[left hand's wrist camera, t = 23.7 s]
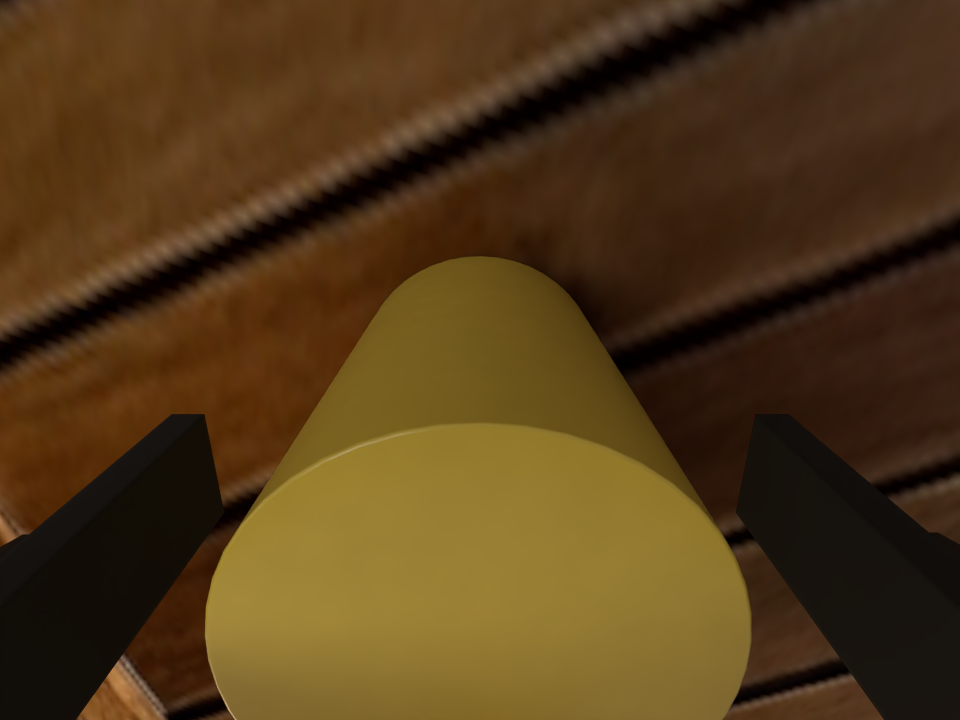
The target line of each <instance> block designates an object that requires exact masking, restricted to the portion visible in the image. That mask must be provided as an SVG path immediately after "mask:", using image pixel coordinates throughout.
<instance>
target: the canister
mask: <svg viewBox="0 0 960 720" xmlns="http://www.w3.org/2000/svg"><path fill="white" fill-rule="evenodd" d="M205 638H206V646H207V653H208V661H209V664H210V667H211V670H212V674H213V677H214V680H215V683H216V686H217V688H218V690H219V692H220V694H221V696H222V698H223V700H224V702H225V704H226V706H227V708H228V710H229V712H230V713H231V715H232V716H233V718H234V719H235V720H723V719H724V717H725V716H726V714H727V712H728V710H729V709H730V707H731V705H732V703H733V701H734V699H735V697H736V696H737V694H738V692H739V689H740V686H741V683H742V680H743V677H744V675H745V672H746V669H747V665H748V659H749V653H750V647H751V642H752V633H751V607H750V602H749V597H748V591H747V586H746V582H745V580H744V577H743V574H742V572H741V569H740V567H739V564H738V561H737V559H736V556H735V555H734V553H733V551H732V550H731V548H730V546H729V544H728V543H727V541H726V539H725V538H724V536H723V534H722V533H721V531H720V529H719V528H718V526H717V525H716V523H715V521H714V520H713V518H712V517H711V515H710V514H709V512H708V510H707V509H706V507H705V506H704V504H703V503H702V501H701V499H700V498H699V496H698V495H697V493H696V491H695V490H694V488H693V487H692V485H691V484H690V482H689V480H688V479H687V477H686V476H685V474H684V472H683V471H682V469H681V468H680V466H679V465H678V463H677V461H676V460H675V458H674V457H673V455H672V454H671V452H670V450H669V449H668V447H667V446H666V444H665V442H664V441H663V439H662V438H661V436H660V435H659V433H658V431H657V430H656V428H655V427H654V425H653V423H652V422H651V420H650V419H649V417H648V416H647V414H646V412H645V411H644V409H643V408H642V406H641V405H640V403H639V401H638V400H637V398H636V397H635V395H634V393H633V392H632V390H631V389H630V387H629V386H628V384H627V382H626V381H625V379H624V378H623V376H622V375H621V373H620V371H619V370H618V368H617V367H616V365H615V363H614V362H613V360H612V359H611V357H610V356H609V354H608V352H607V351H606V349H605V348H604V346H603V344H602V343H601V341H600V340H599V338H598V337H597V335H596V333H595V332H594V330H593V329H592V327H591V326H590V324H589V322H588V321H587V319H586V318H585V316H584V314H583V313H582V311H581V310H580V308H579V307H578V305H577V304H576V303H575V301H574V300H573V299H572V298H571V297H570V295H569V294H568V293H567V292H566V291H565V290H564V289H563V288H562V287H560V286H559V285H558V284H557V283H556V282H555V281H553V280H552V279H550V278H549V277H547V276H546V275H545V274H543V273H541V272H539V271H537V270H535V269H533V268H531V267H529V266H527V265H524V264H521V263H518V262H515V261H512V260H507V259H502V258H497V257H485V256H476V257H463V258H457V259H452V260H447V261H444V262H441V263H438V264H435V265H432V266H430V267H428V268H426V269H424V270H422V271H420V272H418V273H416V274H415V275H413V276H412V277H410V278H409V279H407V280H406V281H405V282H403V283H402V284H401V285H400V286H399V287H398V288H397V289H395V290H394V291H393V292H392V293H391V295H390V296H389V297H388V298H387V299H386V300H385V302H384V303H383V304H382V306H381V307H380V309H379V310H378V312H377V313H376V315H375V317H374V318H373V320H372V321H371V323H370V324H369V326H368V327H367V329H366V331H365V332H364V334H363V335H362V337H361V338H360V340H359V341H358V343H357V344H356V346H355V348H354V349H353V351H352V352H351V354H350V355H349V357H348V358H347V360H346V362H345V363H344V365H343V366H342V368H341V369H340V371H339V372H338V374H337V376H336V377H335V379H334V380H333V382H332V383H331V385H330V386H329V388H328V390H327V391H326V393H325V394H324V396H323V397H322V399H321V400H320V402H319V403H318V405H317V407H316V408H315V410H314V411H313V413H312V414H311V416H310V417H309V419H308V421H307V422H306V424H305V425H304V427H303V428H302V430H301V431H300V433H299V435H298V436H297V438H296V439H295V441H294V442H293V444H292V445H291V447H290V449H289V450H288V452H287V453H286V455H285V456H284V458H283V459H282V461H281V463H280V464H279V466H278V467H277V469H276V470H275V472H274V473H273V475H272V476H271V478H270V480H269V481H268V483H267V484H266V486H265V487H264V489H263V490H262V492H261V494H260V495H259V497H258V498H257V500H256V501H255V503H254V504H253V506H252V508H251V509H250V511H249V512H248V514H247V515H246V517H245V518H244V520H243V522H242V523H241V525H240V526H239V528H238V529H237V531H236V532H235V534H234V535H233V537H232V539H231V540H230V542H229V543H228V545H227V546H226V548H225V549H224V552H223V554H222V556H221V559H220V561H219V563H218V566H217V568H216V570H215V573H214V575H213V578H212V582H211V586H210V591H209V595H208V600H207V604H206V623H205Z"/></svg>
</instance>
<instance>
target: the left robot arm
mask: <svg viewBox="0 0 960 720" xmlns="http://www.w3.org/2000/svg"><path fill="white" fill-rule="evenodd" d="M223 513H224V509H223V504H222V499H221V494H220V489H219V484H218V479H217V474H216V470H215V465H214V460H213V455H212V450H211V445H210V440H209V435H208V430H207V425H206V420H205V415H204V414H172V415H170V416H169V417H168V418H167V419H166V420H164V421H163V422H162V423H161V424H160V425H158V426H157V427H156V428H155V429H154V430H153V431H151V432H150V433H149V434H148V435H147V436H145V437H144V438H143V439H142V440H141V441H139V442H138V443H137V444H136V445H135V446H134V447H132V448H131V449H130V450H129V451H128V452H126V453H125V454H124V455H123V456H122V457H120V458H119V459H118V460H117V461H116V462H115V463H113V464H112V465H111V466H110V467H109V468H107V469H106V470H105V471H104V472H103V473H101V474H100V475H99V476H98V477H97V478H96V479H94V480H93V481H92V482H91V483H90V484H88V485H87V486H86V487H85V488H84V489H82V490H81V491H80V492H79V493H78V494H77V495H75V496H74V497H73V498H72V499H71V500H69V501H68V502H67V503H66V504H65V505H64V506H62V507H61V508H60V509H59V510H58V511H56V512H55V513H54V514H53V515H52V516H50V517H49V518H48V519H47V520H46V521H45V522H43V523H42V524H41V525H40V526H39V527H37V528H36V529H35V530H34V531H33V532H31V533H30V534H29V535H21V536H19V537H18V538H16V539H14V540H12V541H10V542H9V543H7V544H5V545H3V546H1V547H0V720H76V719H77V717H78V716H79V715H80V713H81V712H82V710H83V709H84V708H85V706H86V705H87V703H88V702H89V701H90V699H91V698H92V696H93V695H94V694H95V692H96V691H97V689H98V688H99V687H100V685H101V684H102V682H103V681H104V680H105V678H106V677H107V675H108V674H109V673H110V671H111V670H112V668H113V667H114V666H115V664H116V663H117V661H118V660H119V659H120V657H121V656H122V654H123V653H124V652H125V650H126V649H127V648H128V646H129V645H130V643H131V642H132V641H133V639H134V638H135V636H136V635H137V634H138V632H139V631H140V629H141V628H142V627H143V625H144V624H145V622H146V621H147V620H148V618H149V617H150V615H151V614H152V613H153V611H154V610H155V608H156V607H157V606H158V604H159V603H160V601H161V600H162V599H163V597H164V596H165V594H166V593H167V592H168V590H169V589H170V587H171V586H172V585H173V583H174V582H175V580H176V579H177V578H178V576H179V575H180V573H181V572H182V571H183V569H184V568H185V566H186V565H187V564H188V562H189V561H190V559H191V558H192V557H193V555H194V554H195V552H196V551H197V550H198V548H199V547H200V545H201V544H202V543H203V541H204V540H205V538H206V537H207V536H208V534H209V533H210V531H211V530H212V529H213V527H214V526H215V524H216V523H217V522H218V520H219V519H220V517H221V516H222V515H223ZM736 513H737V515H738V516H739V517H740V519H741V520H742V522H743V523H744V524H745V526H746V527H747V529H748V530H749V531H750V533H751V534H752V536H753V537H754V538H755V540H756V541H757V543H758V544H759V545H760V547H761V548H762V550H763V551H764V552H765V554H766V555H767V557H768V558H769V559H770V561H771V562H772V564H773V565H774V566H775V568H776V569H777V571H778V572H779V573H780V575H781V576H782V578H783V579H784V580H785V582H786V583H787V585H788V586H789V587H790V589H791V590H792V592H793V593H794V594H795V596H796V597H797V599H798V600H799V601H800V603H801V604H802V606H803V607H804V608H805V610H806V611H807V613H808V614H809V615H810V617H811V618H812V620H813V621H814V622H815V624H816V625H817V626H818V628H819V629H820V631H821V632H822V633H823V635H824V636H825V638H826V639H827V640H828V642H829V643H830V645H831V646H832V647H833V649H834V650H835V652H836V653H837V654H838V656H839V657H840V659H841V660H842V661H843V663H844V664H845V666H846V667H847V668H848V670H849V671H850V673H851V674H852V675H853V677H854V678H855V680H856V681H857V682H858V684H859V685H860V687H861V688H862V689H863V691H864V692H865V694H866V695H867V696H868V698H869V699H870V701H871V702H872V703H873V705H874V706H875V708H876V709H877V710H878V712H879V713H880V715H881V716H882V717H883V719H884V720H960V545H959V544H957V543H956V542H954V541H952V540H950V539H948V538H947V537H945V536H943V535H941V534H939V533H929V532H927V531H926V530H925V529H924V528H923V527H921V526H920V525H919V524H918V523H917V522H916V521H914V520H913V519H912V518H911V517H910V516H908V515H907V514H906V513H905V512H904V511H902V510H901V509H900V508H899V507H898V506H897V505H895V504H894V503H893V502H892V501H891V500H889V499H888V498H887V497H886V496H885V495H883V494H882V493H881V492H880V491H879V490H878V489H876V488H875V487H874V486H873V485H872V484H870V483H869V482H868V481H867V480H866V479H864V478H863V477H862V476H861V475H860V474H859V473H857V472H856V471H855V470H854V469H853V468H851V467H850V466H849V465H848V464H847V463H845V462H844V461H843V460H842V459H841V458H840V457H838V456H837V455H836V454H835V453H834V452H832V451H831V450H830V449H829V448H828V447H827V446H825V445H824V444H823V443H822V442H821V441H819V440H818V439H817V438H816V437H815V436H813V435H812V434H811V433H810V432H809V431H808V430H806V429H805V428H804V427H803V426H802V425H800V424H799V423H798V422H797V421H796V420H794V419H793V418H792V417H791V416H790V415H789V414H756V415H755V420H754V425H753V430H752V435H751V440H750V445H749V450H748V455H747V460H746V465H745V470H744V475H743V480H742V485H741V490H740V495H739V500H738V505H737V510H736Z"/></svg>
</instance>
